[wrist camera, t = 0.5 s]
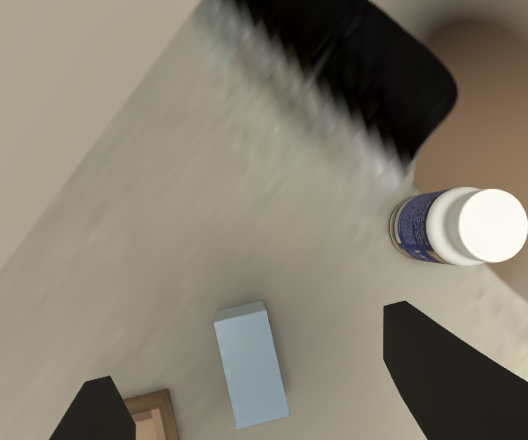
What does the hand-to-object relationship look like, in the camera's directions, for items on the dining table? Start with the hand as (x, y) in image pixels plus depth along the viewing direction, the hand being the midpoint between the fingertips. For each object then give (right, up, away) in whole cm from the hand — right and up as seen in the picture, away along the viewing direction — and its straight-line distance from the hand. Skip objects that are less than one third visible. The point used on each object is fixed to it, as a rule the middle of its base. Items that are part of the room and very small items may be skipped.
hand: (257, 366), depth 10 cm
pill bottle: (+14, +3, +24) cm, 28 cm away
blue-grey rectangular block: (-1, -7, +22) cm, 24 cm away
